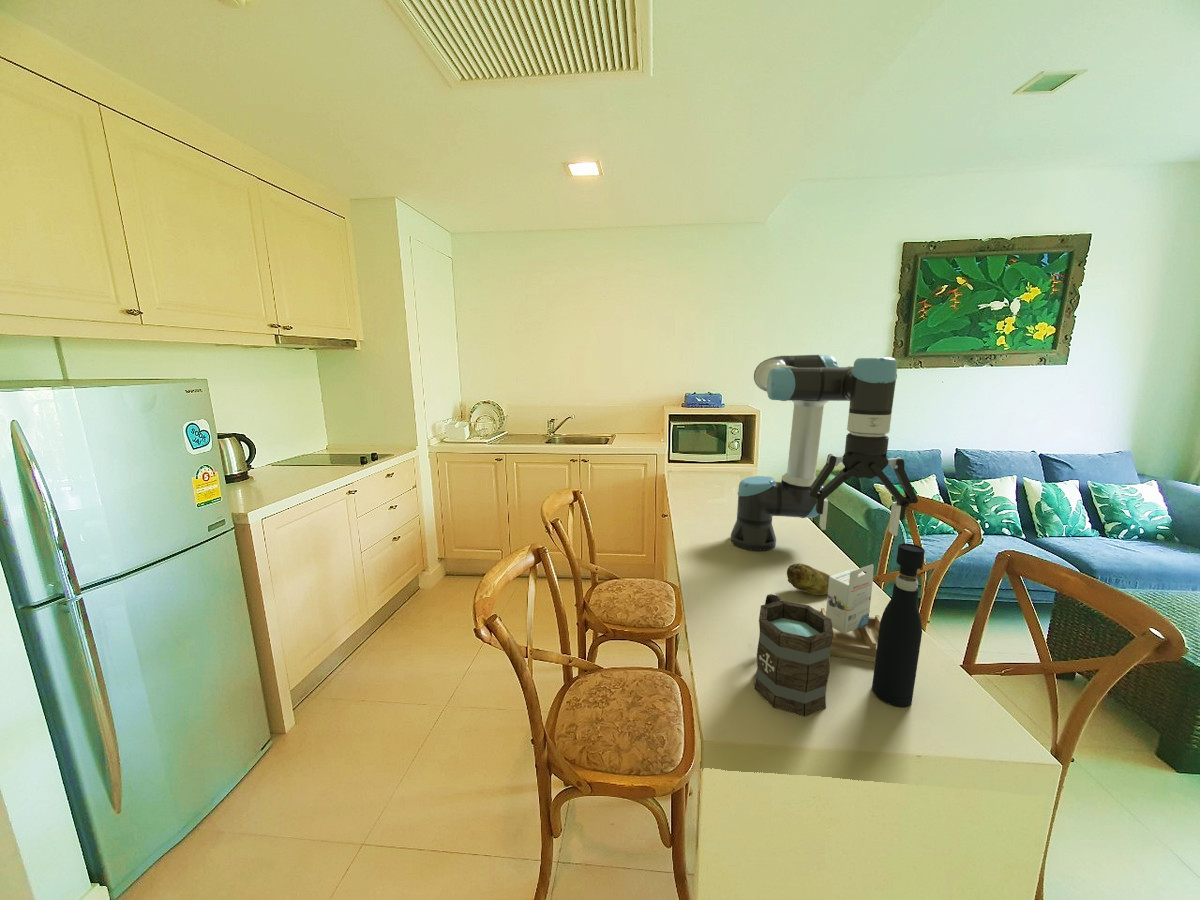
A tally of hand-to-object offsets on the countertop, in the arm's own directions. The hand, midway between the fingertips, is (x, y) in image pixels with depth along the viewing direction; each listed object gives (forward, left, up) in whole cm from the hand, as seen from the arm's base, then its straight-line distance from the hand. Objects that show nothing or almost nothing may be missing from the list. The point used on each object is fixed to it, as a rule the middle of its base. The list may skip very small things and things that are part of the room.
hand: (856, 530), depth 94 cm
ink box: (0, 0, -23) cm, 23 cm away
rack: (0, -2, -26) cm, 27 cm away
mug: (+17, -15, -27) cm, 35 cm away
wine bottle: (+16, +4, -27) cm, 31 cm away
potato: (-21, -4, -27) cm, 34 cm away
